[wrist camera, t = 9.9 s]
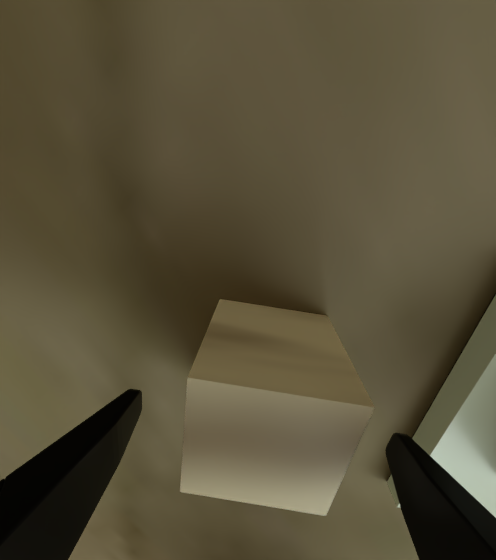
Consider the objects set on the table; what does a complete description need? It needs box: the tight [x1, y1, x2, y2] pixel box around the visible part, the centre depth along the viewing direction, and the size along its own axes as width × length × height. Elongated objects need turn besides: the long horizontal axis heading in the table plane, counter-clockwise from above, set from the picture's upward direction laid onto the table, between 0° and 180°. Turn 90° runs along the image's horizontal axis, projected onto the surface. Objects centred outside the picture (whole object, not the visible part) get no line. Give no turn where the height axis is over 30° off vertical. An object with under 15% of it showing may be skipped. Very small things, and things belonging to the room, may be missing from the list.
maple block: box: [180, 299, 375, 516], centre depth 9 cm, size 5×5×5 cm
